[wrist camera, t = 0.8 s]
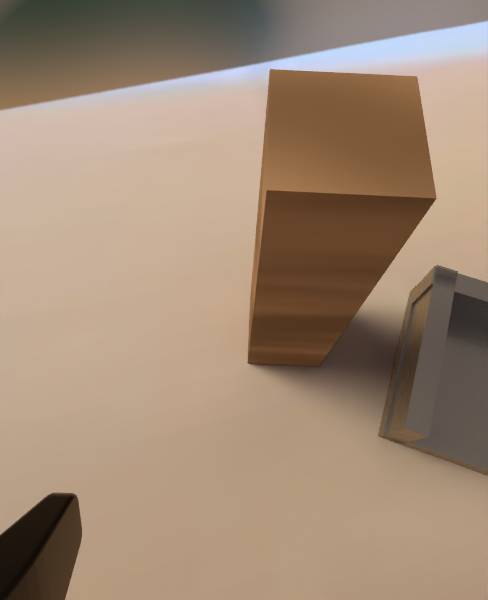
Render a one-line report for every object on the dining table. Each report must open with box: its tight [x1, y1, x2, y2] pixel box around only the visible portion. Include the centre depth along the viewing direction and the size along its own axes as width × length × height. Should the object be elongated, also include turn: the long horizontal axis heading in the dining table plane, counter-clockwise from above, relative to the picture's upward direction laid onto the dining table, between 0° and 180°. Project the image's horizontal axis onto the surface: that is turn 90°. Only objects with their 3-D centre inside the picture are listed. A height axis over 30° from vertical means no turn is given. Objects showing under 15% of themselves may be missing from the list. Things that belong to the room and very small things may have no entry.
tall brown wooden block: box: [248, 69, 436, 367], centre depth 16 cm, size 4×4×14 cm
